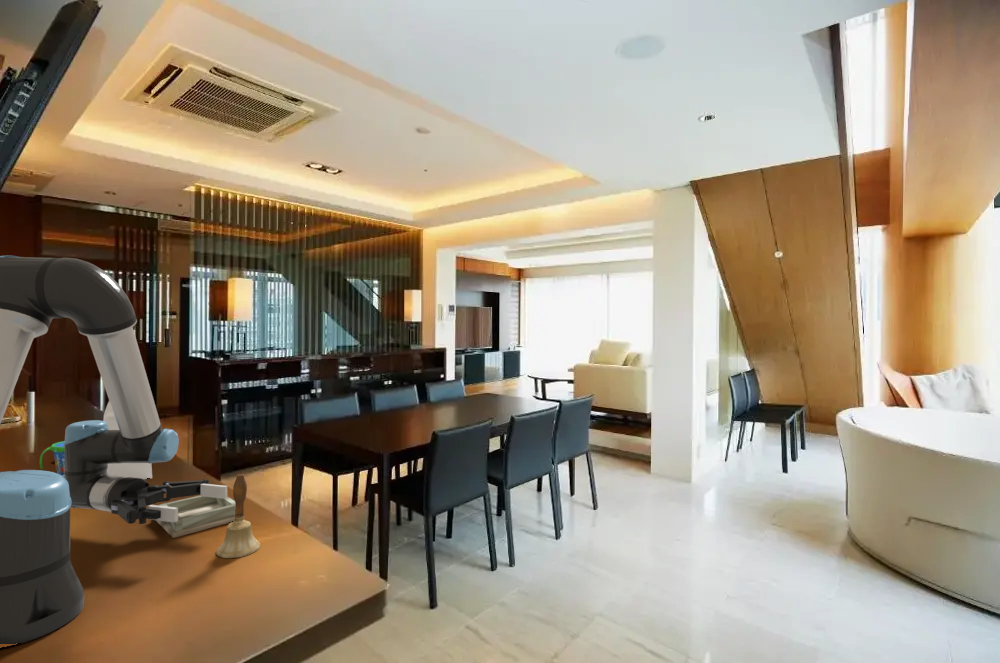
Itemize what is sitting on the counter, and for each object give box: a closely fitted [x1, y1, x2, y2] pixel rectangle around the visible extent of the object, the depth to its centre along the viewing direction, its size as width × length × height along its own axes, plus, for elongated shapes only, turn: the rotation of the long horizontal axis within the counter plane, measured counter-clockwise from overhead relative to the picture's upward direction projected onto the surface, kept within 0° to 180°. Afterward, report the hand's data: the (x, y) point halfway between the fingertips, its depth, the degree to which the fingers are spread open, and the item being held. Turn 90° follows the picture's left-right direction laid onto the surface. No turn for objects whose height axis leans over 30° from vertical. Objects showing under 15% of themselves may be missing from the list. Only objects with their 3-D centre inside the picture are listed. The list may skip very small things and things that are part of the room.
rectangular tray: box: [155, 494, 236, 539], centre depth 121 cm, size 15×15×4 cm
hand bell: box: [216, 473, 261, 559], centre depth 105 cm, size 8×8×16 cm
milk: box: [102, 400, 153, 480], centre depth 150 cm, size 12×12×26 cm
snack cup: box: [39, 440, 65, 476], centre depth 151 cm, size 16×10×10 cm
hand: (203, 502), depth 107 cm, fingers open, 13 cm apart
